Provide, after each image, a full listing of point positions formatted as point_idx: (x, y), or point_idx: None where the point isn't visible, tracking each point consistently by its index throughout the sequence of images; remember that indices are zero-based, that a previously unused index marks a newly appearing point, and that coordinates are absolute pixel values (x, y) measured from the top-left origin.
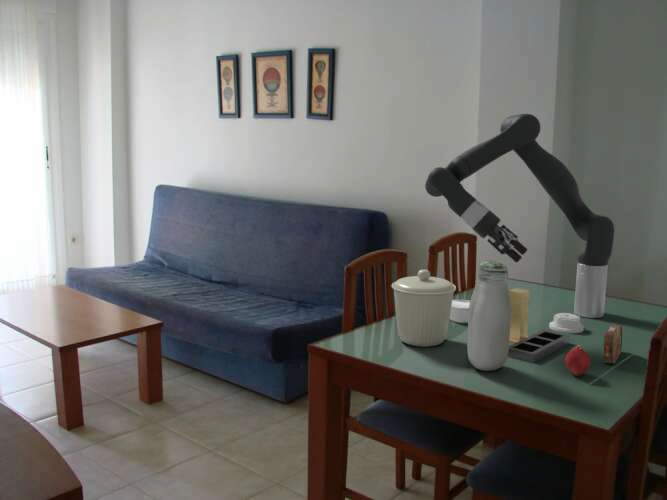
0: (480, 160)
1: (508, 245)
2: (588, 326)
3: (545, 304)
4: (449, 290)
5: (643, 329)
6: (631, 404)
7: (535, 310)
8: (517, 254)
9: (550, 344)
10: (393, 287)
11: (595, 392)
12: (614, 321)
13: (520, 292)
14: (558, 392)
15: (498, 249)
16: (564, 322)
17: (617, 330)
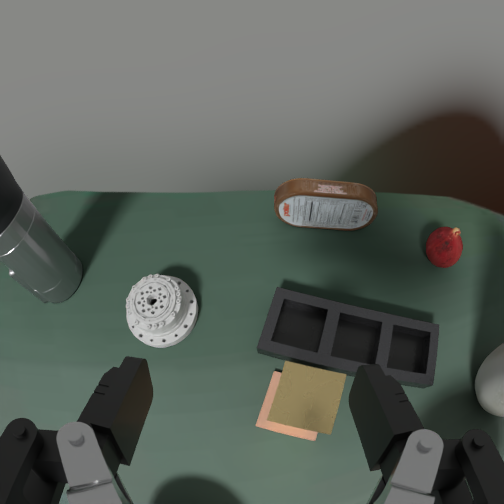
0: None
1: (432, 461)
2: (134, 273)
3: (17, 354)
4: None
5: (133, 199)
6: (463, 202)
7: (53, 377)
8: (387, 388)
9: (363, 312)
10: None
11: (464, 234)
12: (96, 237)
13: (334, 385)
14: (493, 271)
15: (469, 498)
16: (182, 306)
17: (336, 181)
